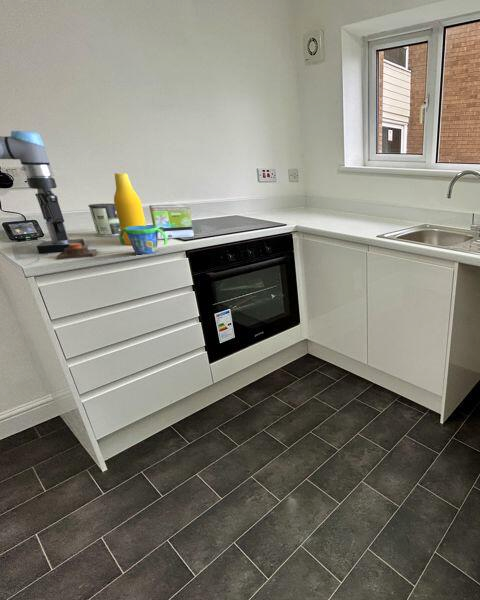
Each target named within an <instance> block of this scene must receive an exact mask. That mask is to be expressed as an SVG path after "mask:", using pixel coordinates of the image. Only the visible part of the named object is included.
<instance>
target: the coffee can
mask: <svg viewBox="0 0 480 600" xmlns="http://www.w3.org/2000/svg"><path fill="white" fill-rule="evenodd" d="M88 208H89V211H90V214H91V218H92V222H93V226H94V229H95V232H96V236H97V237H116V236H119V235H120V232H121V227H120V223H119V219H118V215H117V212H116V208H115V204H114V203H91V204H88Z"/></svg>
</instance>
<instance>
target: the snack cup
mask: <svg viewBox="0 0 480 600" xmlns="http://www.w3.org/2000/svg"><path fill="white" fill-rule="evenodd" d="M124 231H125V232H126V233H127V235H128V237H129V240H130V242H131V245H130V246H132V249H133V252H134V253H135V254H136V255H139V256H141V255H153V254H157V253H158V251H159V243H158V241H159V240H158V239H157V235H158V231H159V232H160V233H161V234H162V235H163V236H164V239H163V244H164V245H165V246H167V244H168V238H167V237H166V235H165V233H164V232H163V231H162V230H161V229H158V228H157V227H156V226H153V225H147V224H146V226H131V227H126V228H125V229H124V230H122V231H121V232H120V235H118V236H119V237H118V238H119V242H120V244H121V245H122V246H125V245H126V244H125V241H124V239H123V232H124Z"/></svg>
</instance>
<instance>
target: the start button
mask: <svg viewBox="0 0 480 600" xmlns="http://www.w3.org/2000/svg"><path fill="white" fill-rule="evenodd" d="M69 248H70V249H78V248H82V245H81V243H73V244H69Z"/></svg>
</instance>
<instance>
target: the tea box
mask: <svg viewBox="0 0 480 600" xmlns="http://www.w3.org/2000/svg"><path fill="white" fill-rule="evenodd" d="M148 207H149V212H150V217H151V221H152V226H156V227H157V228H158V229H161V230H162V231H163V232H164V233H165V235H166V237H167V239H180V238H182V239H183V238H194V228H193V221H192V216H191V211H190V206H189V205H187V204H151V205H149V206H148ZM157 239H158V241H159V240H164V236H163V235H162V234H161V233H160V232H159V231H158V235H157Z"/></svg>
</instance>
